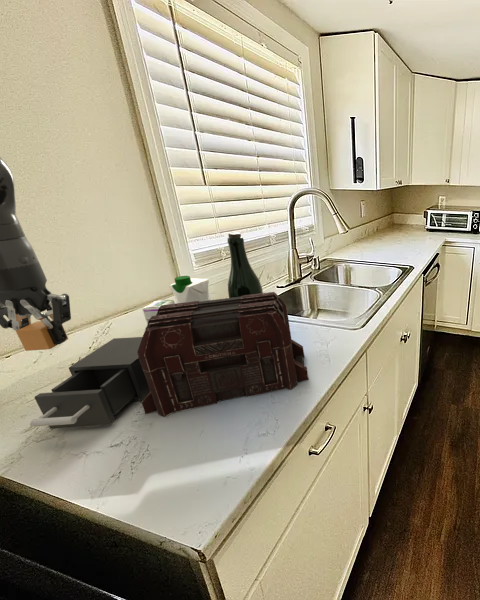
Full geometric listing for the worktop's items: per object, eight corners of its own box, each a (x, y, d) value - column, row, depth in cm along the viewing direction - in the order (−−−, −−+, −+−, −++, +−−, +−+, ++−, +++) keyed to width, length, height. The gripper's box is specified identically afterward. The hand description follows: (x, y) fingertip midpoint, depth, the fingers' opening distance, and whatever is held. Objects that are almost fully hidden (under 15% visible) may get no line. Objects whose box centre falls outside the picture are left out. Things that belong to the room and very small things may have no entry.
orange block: (45, 340, 69) (36, 321, 67) (68, 338, 69) (60, 319, 68) (25, 351, 65) (15, 330, 63) (49, 349, 65) (40, 329, 64)
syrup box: (176, 351, 97) (163, 306, 92) (155, 352, 96) (141, 307, 91) (186, 342, 102) (174, 299, 97) (167, 343, 102) (154, 300, 96)
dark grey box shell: (143, 400, 76) (130, 364, 72) (84, 404, 75) (68, 367, 71) (175, 367, 89) (166, 335, 85) (125, 370, 88) (113, 338, 84)
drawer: (93, 442, 63) (78, 408, 60) (27, 447, 62) (9, 413, 59) (149, 387, 79) (139, 359, 76) (97, 390, 78) (85, 362, 75)
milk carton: (180, 338, 105) (163, 279, 98) (202, 326, 113) (188, 270, 106) (203, 340, 103) (187, 280, 96) (223, 328, 111) (210, 272, 104)
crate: (140, 422, 69) (107, 334, 61) (165, 374, 85) (142, 300, 78) (309, 386, 80) (299, 308, 73) (303, 350, 97) (294, 283, 89)
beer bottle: (239, 328, 111) (218, 231, 99) (271, 324, 114) (255, 229, 102) (233, 342, 102) (209, 236, 90) (268, 338, 104) (250, 234, 92)
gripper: (67, 256, 65) (98, 333, 71) (-11, 260, 64) (27, 337, 70) (31, 266, 58) (69, 350, 64) (-58, 270, 57) (-11, 355, 63)
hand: (47, 343), depth 67 cm, fingers closed on orange block, 4 cm apart
